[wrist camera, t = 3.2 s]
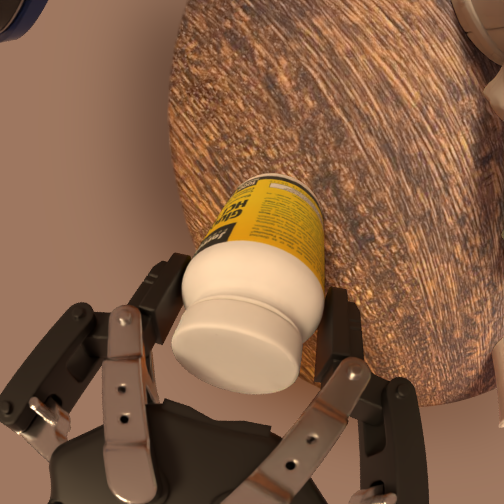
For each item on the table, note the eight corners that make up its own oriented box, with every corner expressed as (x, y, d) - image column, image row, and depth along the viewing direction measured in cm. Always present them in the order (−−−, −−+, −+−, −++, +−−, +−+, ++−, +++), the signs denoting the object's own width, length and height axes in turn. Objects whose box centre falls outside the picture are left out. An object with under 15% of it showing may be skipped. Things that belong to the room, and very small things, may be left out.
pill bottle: (249, 153, 16) (162, 272, 7) (340, 199, 16) (362, 356, 7) (216, 231, 19) (145, 364, 11) (295, 267, 20) (272, 413, 11)
